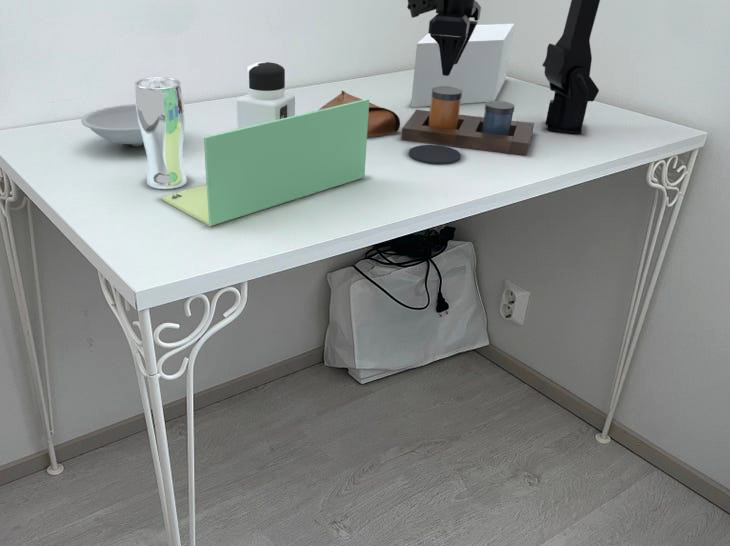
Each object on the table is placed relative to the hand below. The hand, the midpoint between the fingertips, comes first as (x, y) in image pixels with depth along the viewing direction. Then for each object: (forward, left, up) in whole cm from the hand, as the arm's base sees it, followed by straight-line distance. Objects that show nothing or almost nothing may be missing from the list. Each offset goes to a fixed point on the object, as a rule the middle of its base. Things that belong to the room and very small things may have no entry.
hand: (450, 69), depth 134 cm
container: (+29, +16, -12) cm, 35 cm away
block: (+1, -31, -12) cm, 33 cm away
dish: (+49, +27, -12) cm, 57 cm away
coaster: (-1, +13, -12) cm, 17 cm away
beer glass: (+36, +41, -12) cm, 56 cm away
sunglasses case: (+17, 0, -12) cm, 21 cm away
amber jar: (0, 0, -12) cm, 12 cm away
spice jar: (-10, 0, -12) cm, 15 cm away
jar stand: (-5, 0, -12) cm, 13 cm away
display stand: (+21, +38, -12) cm, 45 cm away
